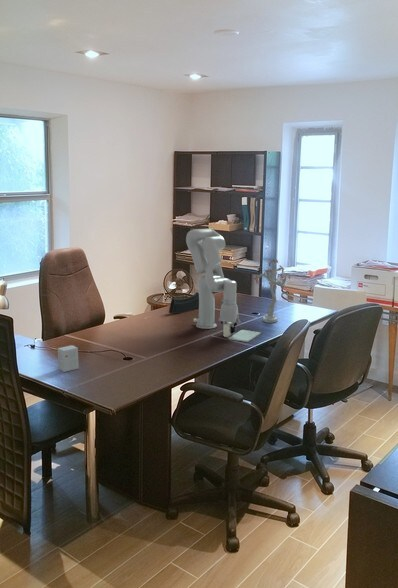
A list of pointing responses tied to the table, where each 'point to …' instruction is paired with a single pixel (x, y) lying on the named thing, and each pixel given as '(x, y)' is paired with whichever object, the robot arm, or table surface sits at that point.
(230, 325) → the cream rectangular block
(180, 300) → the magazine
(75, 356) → the small box
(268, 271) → the grey tall branched form
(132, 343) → the table surface
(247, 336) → the mat
